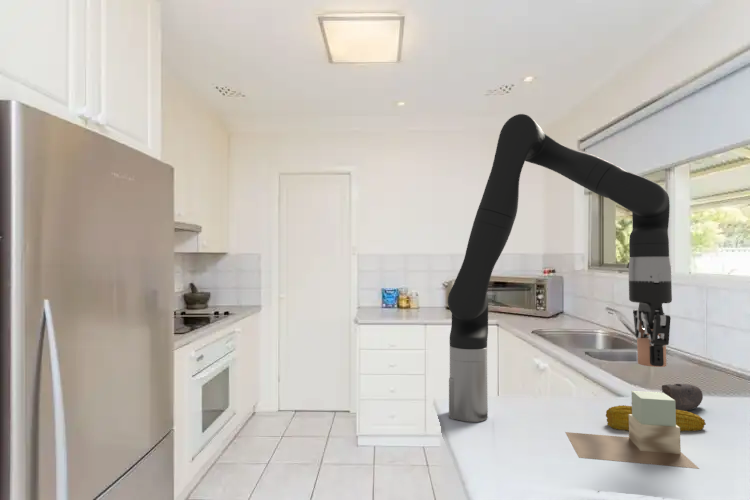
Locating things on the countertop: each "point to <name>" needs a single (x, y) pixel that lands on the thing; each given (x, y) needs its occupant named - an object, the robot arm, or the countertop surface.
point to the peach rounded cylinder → (647, 352)
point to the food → (620, 414)
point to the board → (622, 451)
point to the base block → (654, 437)
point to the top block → (653, 408)
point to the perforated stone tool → (684, 395)
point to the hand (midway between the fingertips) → (651, 362)
